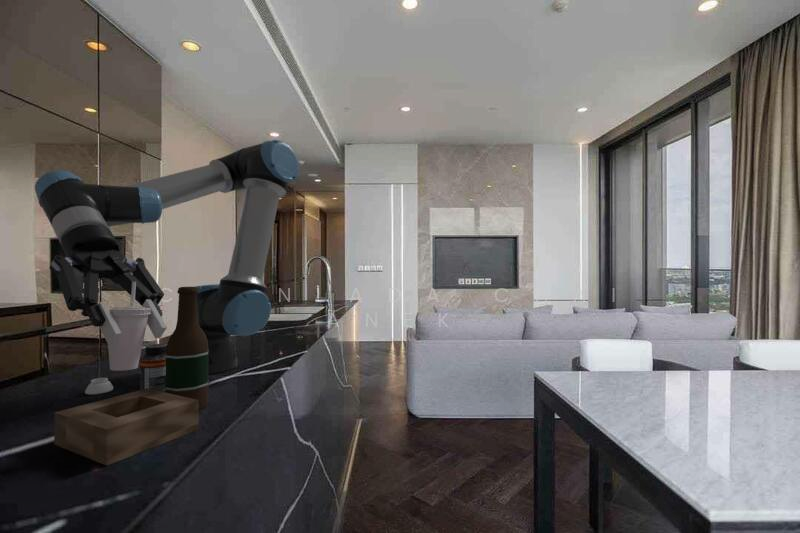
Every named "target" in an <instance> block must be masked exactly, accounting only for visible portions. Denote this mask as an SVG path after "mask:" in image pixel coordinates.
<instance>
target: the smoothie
mask: <svg viewBox="0 0 800 533" xmlns="http://www.w3.org/2000/svg"><path fill="white" fill-rule="evenodd" d="M135 290H136V282H132V290H131V295H130V305H129V306H118V307H117V306H116V307H115V306H114V307H108V308H109V310H110V312H111V314H112V316H113V318H114V320H115V322H116V324H117V326H118V328H119V330H120V331H121V335H120V336H119V338H118V340H117V341H116V343H115V345H110V346H109V345H108V344H107V349H108V359H109V361H108V362H109V370H110V371H115V372H116V371H119V372H120V371H121V372H122V371H130V370H135V369H138V368H139V365H140V360H141V353H142V351H143V350H142V348H143V344H144V341H145V334H146V330H147V326H148V324H147V321H148V316H149V314H151V308H145V307H142V306H135V304H136V300H135Z"/></svg>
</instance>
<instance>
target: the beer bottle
mask: <svg viewBox="0 0 800 533" xmlns="http://www.w3.org/2000/svg"><path fill="white" fill-rule="evenodd" d="M197 292H198V290H197V287H195V286H180V287H178V289H177V292H176V293H177V294H178V303H177V304H178V305H177V306H178V307H177V320H176V325H175V329H174V331H173V332H172V334H171V335H170V337H169V338H168V341H167V343H166V344H167V347H166V393H169V394H174V395H178V396H183V397H188V398H192V399H197V400H199V411H201V410H203V409H206V408H207V406H208V402H209V374H208V340H207V338H206V335H205V333H204V332H203V330H202V329H201V328H200V326H199V321H198V311H197V296H196V293H197Z"/></svg>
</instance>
